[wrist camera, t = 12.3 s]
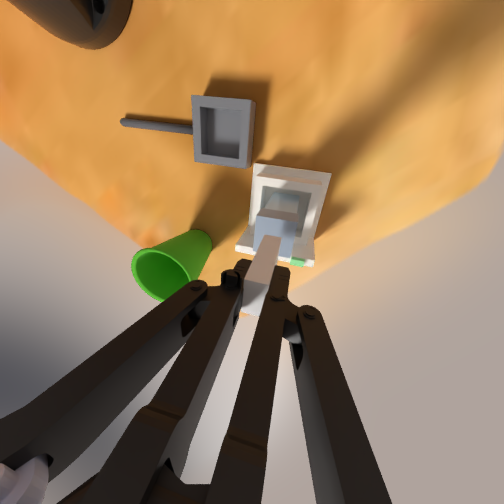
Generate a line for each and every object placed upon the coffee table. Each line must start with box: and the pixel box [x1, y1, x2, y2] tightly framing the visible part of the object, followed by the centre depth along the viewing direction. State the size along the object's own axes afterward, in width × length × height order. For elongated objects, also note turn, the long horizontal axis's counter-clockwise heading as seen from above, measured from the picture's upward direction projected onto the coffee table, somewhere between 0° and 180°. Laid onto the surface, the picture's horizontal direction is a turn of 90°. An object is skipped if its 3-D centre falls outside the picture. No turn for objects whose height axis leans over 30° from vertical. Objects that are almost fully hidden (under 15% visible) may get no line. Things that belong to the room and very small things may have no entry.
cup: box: [131, 230, 212, 302], centre depth 31 cm, size 9×9×11 cm
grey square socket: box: [191, 95, 256, 169], centre depth 25 cm, size 7×7×3 cm
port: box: [235, 163, 332, 267], centre depth 26 cm, size 10×10×8 cm
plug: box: [253, 192, 300, 258], centre depth 24 cm, size 4×4×10 cm
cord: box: [120, 118, 193, 134], centre depth 27 cm, size 1×12×1 cm, turn 84°
